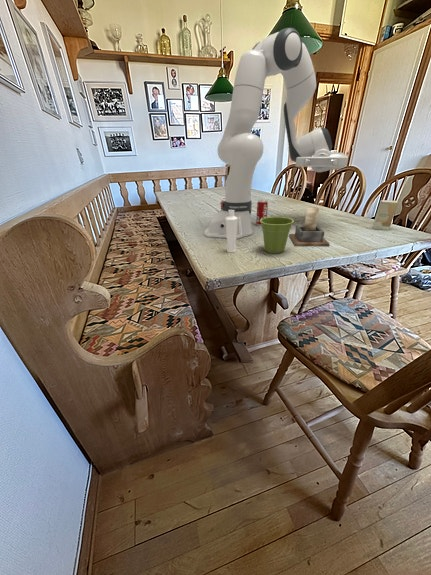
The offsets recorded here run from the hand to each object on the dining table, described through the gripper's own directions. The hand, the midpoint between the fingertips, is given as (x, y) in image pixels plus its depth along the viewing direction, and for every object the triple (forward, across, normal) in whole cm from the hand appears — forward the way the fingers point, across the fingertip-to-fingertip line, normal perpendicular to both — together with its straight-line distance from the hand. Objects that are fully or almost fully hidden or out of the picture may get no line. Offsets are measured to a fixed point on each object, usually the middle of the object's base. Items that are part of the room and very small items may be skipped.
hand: (320, 162), depth 98 cm
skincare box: (-15, +31, +28) cm, 44 cm away
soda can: (-7, -23, +29) cm, 38 cm away
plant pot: (+28, -10, +29) cm, 42 cm away
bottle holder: (+13, +1, +28) cm, 31 cm away
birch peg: (+13, +1, +28) cm, 31 cm away
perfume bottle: (+34, -25, +29) cm, 51 cm away
